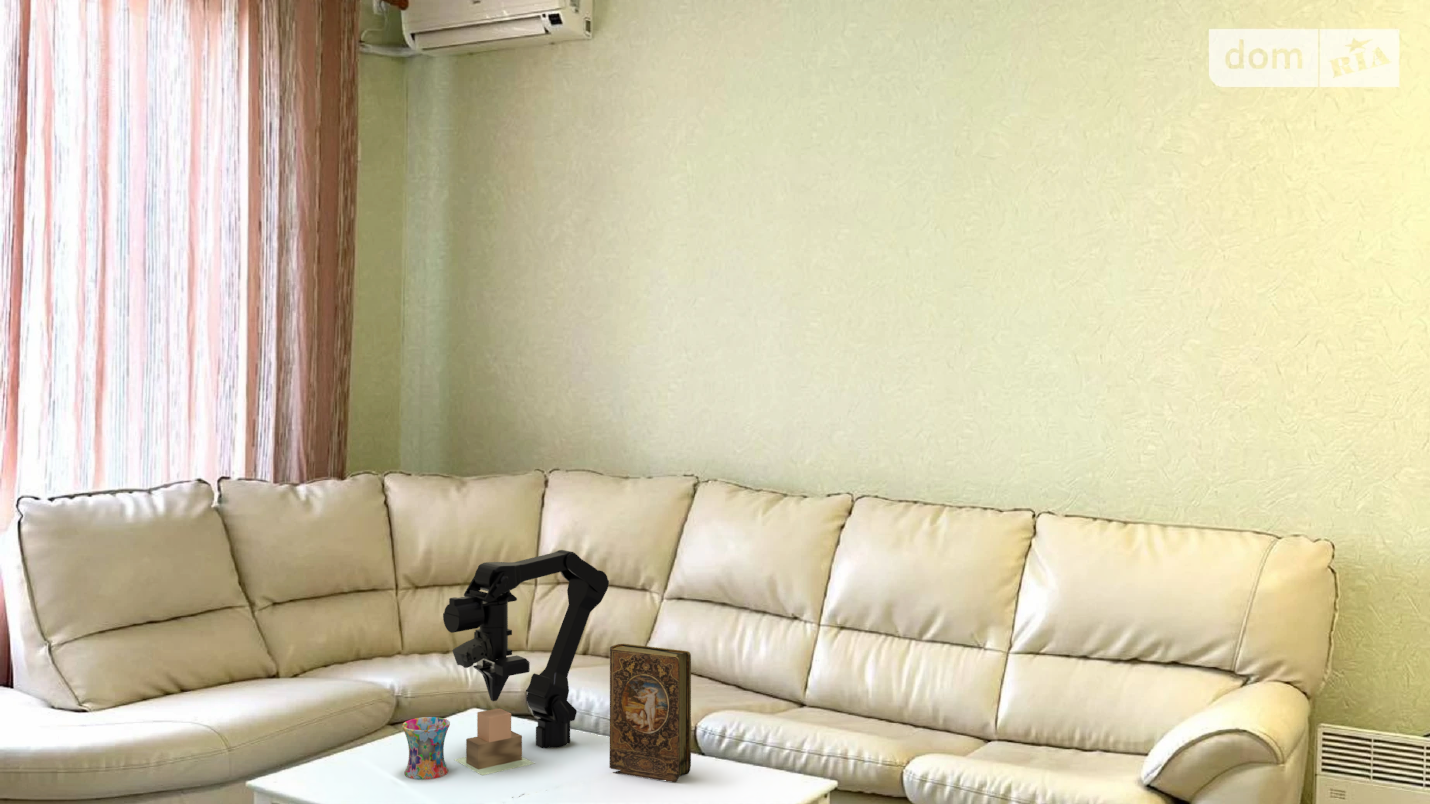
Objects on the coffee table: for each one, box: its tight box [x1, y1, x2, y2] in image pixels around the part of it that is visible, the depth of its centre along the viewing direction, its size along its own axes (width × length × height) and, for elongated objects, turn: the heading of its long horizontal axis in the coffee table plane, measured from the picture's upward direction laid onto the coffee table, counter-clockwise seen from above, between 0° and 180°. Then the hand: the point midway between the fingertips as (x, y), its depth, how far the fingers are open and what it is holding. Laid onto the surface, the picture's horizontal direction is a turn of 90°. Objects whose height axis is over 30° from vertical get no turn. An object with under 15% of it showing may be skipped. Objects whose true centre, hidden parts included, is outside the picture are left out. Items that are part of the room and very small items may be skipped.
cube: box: [476, 707, 512, 742], centre depth 268 cm, size 5×5×5 cm
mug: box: [401, 716, 451, 781], centre depth 263 cm, size 12×9×11 cm
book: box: [609, 643, 692, 783], centre depth 264 cm, size 16×6×25 cm, turn 65°
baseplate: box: [454, 756, 536, 776], centre depth 269 cm, size 12×12×1 cm
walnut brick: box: [465, 730, 523, 769], centre depth 269 cm, size 10×5×5 cm, turn 128°
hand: (494, 700), depth 270 cm, fingers closed
